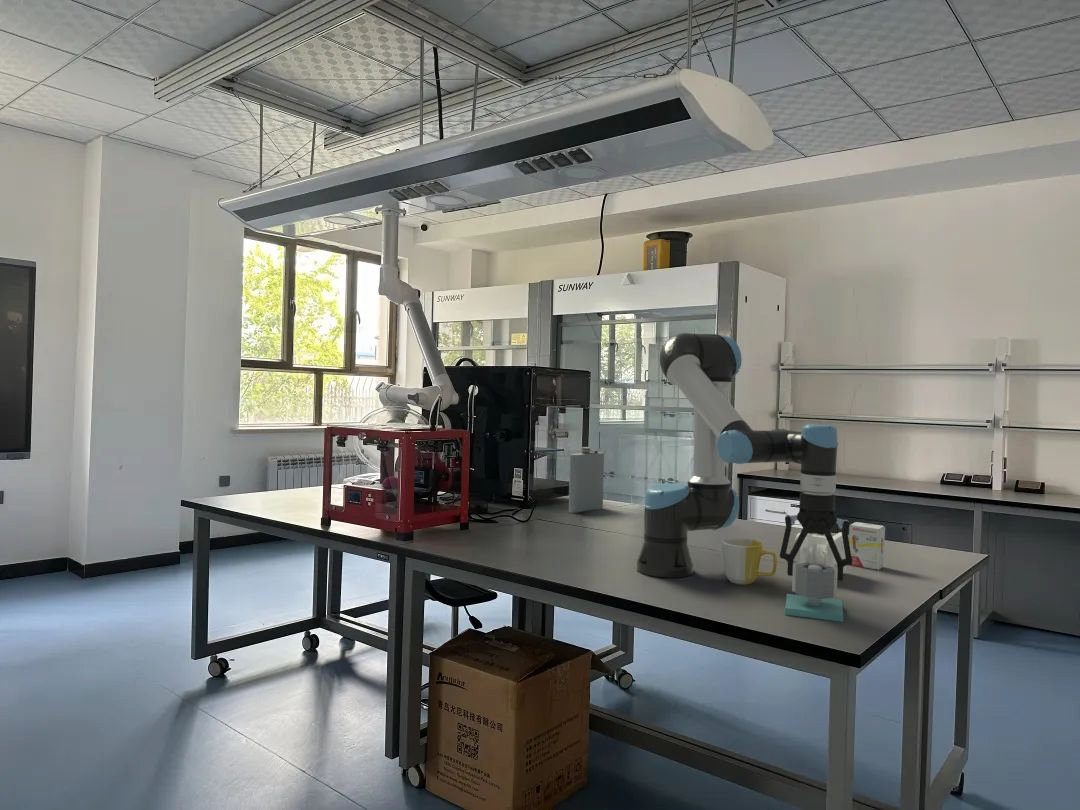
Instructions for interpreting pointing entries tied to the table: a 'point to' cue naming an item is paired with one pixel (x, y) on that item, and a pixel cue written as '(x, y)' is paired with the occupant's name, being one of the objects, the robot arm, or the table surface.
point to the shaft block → (814, 606)
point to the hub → (814, 581)
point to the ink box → (867, 545)
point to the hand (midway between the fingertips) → (814, 592)
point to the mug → (744, 559)
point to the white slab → (586, 480)
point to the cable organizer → (819, 550)
